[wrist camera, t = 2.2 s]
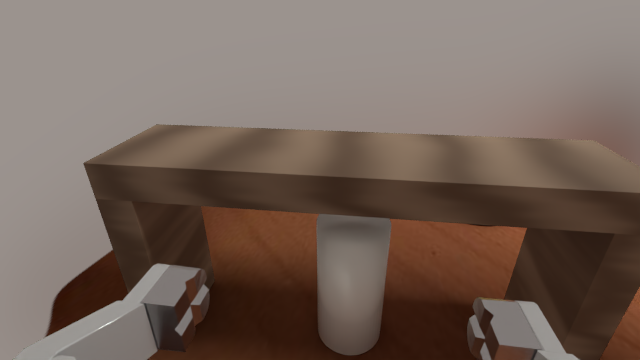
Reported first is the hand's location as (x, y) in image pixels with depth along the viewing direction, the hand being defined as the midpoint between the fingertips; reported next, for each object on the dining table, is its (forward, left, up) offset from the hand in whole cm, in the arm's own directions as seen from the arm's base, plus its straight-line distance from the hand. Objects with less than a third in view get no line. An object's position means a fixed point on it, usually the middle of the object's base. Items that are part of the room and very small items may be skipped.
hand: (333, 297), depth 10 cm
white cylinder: (0, -13, -17) cm, 22 cm away
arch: (0, -13, -17) cm, 21 cm away
